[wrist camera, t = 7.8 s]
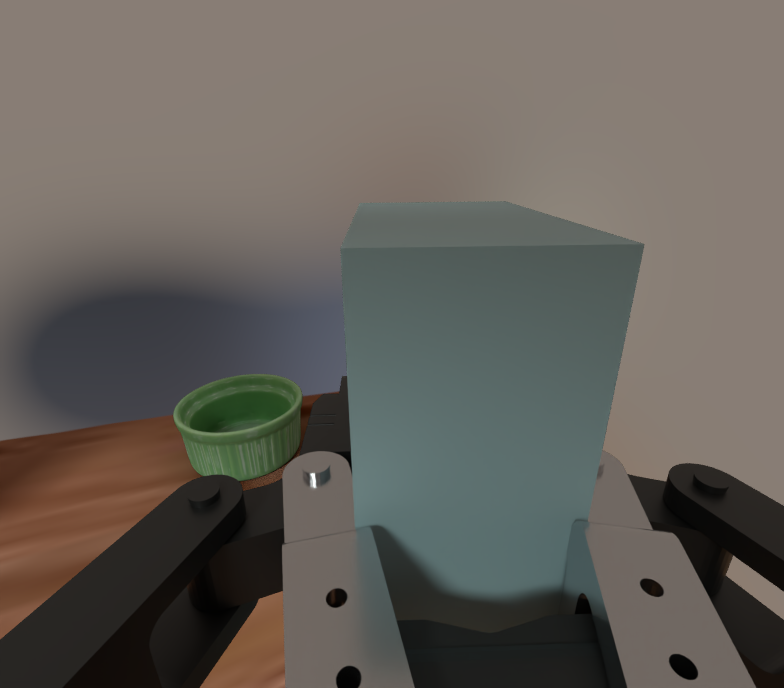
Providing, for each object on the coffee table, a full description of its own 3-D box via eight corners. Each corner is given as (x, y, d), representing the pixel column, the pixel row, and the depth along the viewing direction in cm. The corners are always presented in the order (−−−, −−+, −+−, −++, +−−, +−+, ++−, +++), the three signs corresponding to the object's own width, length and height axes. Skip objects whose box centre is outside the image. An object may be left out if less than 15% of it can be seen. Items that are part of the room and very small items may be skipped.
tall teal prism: (370, 831, 10) (340, 247, 5) (373, 592, 16) (360, 203, 11) (525, 824, 10) (644, 243, 5) (472, 588, 16) (505, 201, 11)
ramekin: (277, 497, 29) (269, 440, 28) (157, 481, 31) (142, 427, 29) (323, 424, 37) (319, 377, 36) (225, 415, 39) (217, 370, 37)
